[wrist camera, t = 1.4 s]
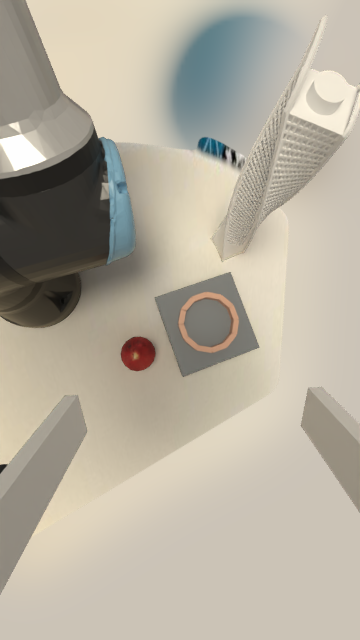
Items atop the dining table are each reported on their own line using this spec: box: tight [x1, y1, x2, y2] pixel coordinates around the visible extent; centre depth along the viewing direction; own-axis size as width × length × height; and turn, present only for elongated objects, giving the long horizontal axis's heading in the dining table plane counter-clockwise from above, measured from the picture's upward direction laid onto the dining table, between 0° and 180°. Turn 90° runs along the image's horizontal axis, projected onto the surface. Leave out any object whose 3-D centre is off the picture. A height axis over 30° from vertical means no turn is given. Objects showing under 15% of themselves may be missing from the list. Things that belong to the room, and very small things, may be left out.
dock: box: [155, 272, 259, 377], centre depth 38 cm, size 16×16×3 cm
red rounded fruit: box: [121, 337, 155, 371], centre depth 34 cm, size 6×6×8 cm
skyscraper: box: [211, 15, 360, 262], centre depth 28 cm, size 8×8×28 cm
